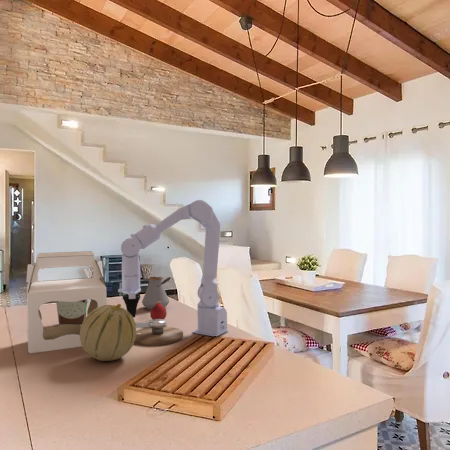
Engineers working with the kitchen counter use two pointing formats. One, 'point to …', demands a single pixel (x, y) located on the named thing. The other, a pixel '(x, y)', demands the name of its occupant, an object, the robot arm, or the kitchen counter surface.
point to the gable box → (61, 298)
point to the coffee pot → (155, 293)
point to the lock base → (158, 336)
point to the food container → (71, 312)
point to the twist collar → (152, 323)
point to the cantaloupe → (108, 332)
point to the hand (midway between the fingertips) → (131, 317)
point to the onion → (158, 311)
